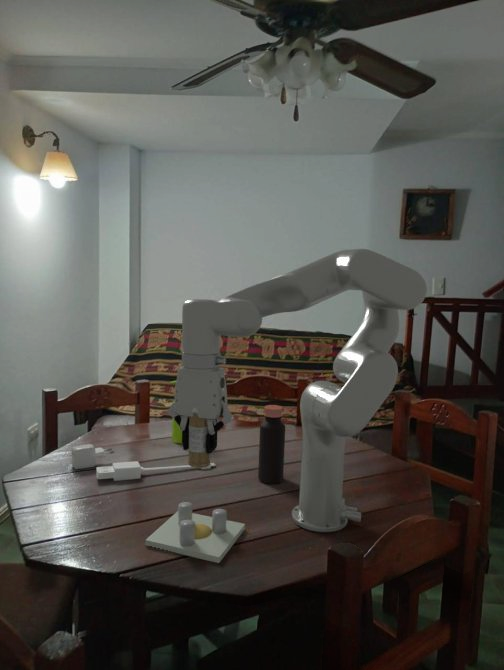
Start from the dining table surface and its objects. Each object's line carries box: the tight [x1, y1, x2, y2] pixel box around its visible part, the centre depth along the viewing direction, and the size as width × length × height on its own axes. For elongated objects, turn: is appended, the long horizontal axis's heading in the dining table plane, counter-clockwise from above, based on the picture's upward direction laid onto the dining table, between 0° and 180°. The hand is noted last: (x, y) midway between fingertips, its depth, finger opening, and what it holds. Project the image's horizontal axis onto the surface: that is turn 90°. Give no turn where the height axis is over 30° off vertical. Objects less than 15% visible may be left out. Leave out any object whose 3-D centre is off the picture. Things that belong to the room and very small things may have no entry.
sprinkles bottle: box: [187, 407, 211, 469], centre depth 102 cm, size 5×5×13 cm
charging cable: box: [95, 460, 217, 482], centre depth 137 cm, size 5×32×3 cm, turn 112°
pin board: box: [145, 501, 246, 564], centre depth 104 cm, size 16×14×5 cm
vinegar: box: [257, 404, 286, 485], centre depth 134 cm, size 7×7×20 cm
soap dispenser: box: [169, 380, 182, 444], centre depth 163 cm, size 6×7×20 cm
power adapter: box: [71, 443, 115, 470], centre depth 141 cm, size 11×5×6 cm, turn 121°
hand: (199, 448), depth 102 cm, fingers closed on sprinkles bottle, 4 cm apart
